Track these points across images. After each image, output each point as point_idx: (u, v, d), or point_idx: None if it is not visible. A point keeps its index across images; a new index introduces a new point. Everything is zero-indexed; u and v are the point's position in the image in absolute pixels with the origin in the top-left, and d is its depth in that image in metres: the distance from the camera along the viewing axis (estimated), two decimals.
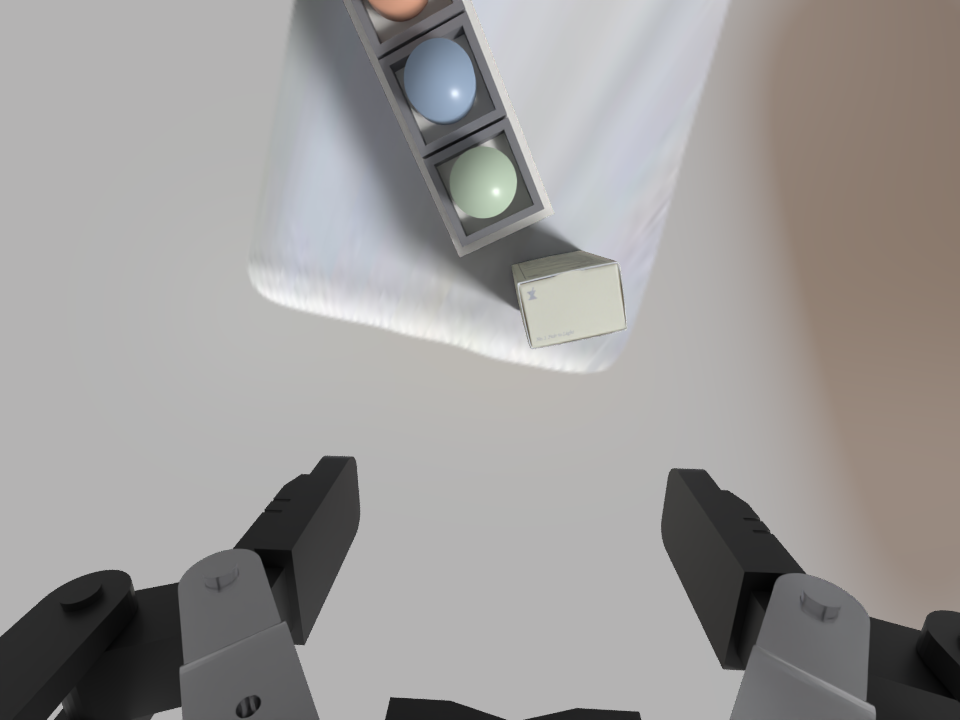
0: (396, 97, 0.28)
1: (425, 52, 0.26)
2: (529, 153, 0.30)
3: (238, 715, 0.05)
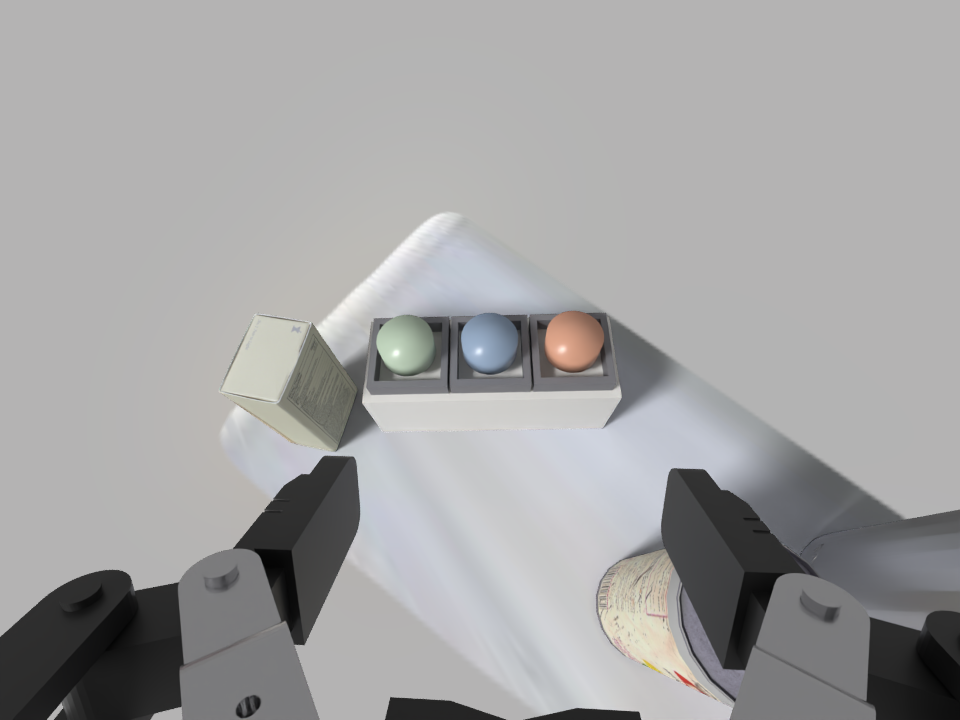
0: None
1: (510, 335, 0.33)
2: (417, 400, 0.34)
3: (238, 715, 0.05)
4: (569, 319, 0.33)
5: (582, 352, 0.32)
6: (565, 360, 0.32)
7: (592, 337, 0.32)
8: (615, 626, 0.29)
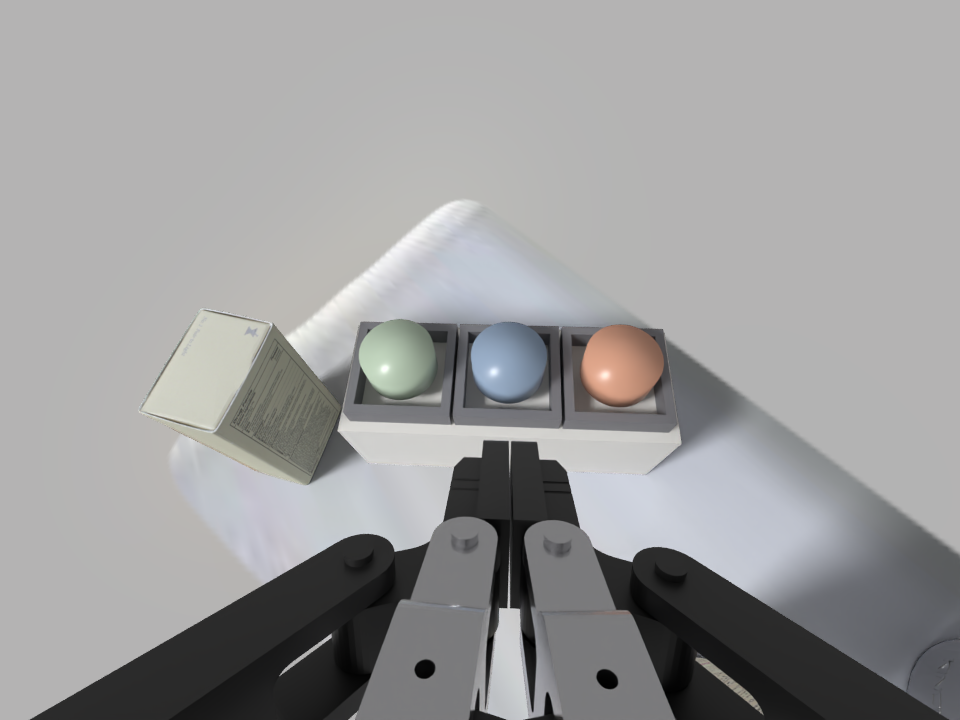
0: None
1: (537, 353, 0.24)
2: (409, 431, 0.26)
3: (417, 670, 0.06)
4: (616, 335, 0.25)
5: (634, 381, 0.23)
6: (611, 391, 0.24)
7: (648, 361, 0.24)
8: None
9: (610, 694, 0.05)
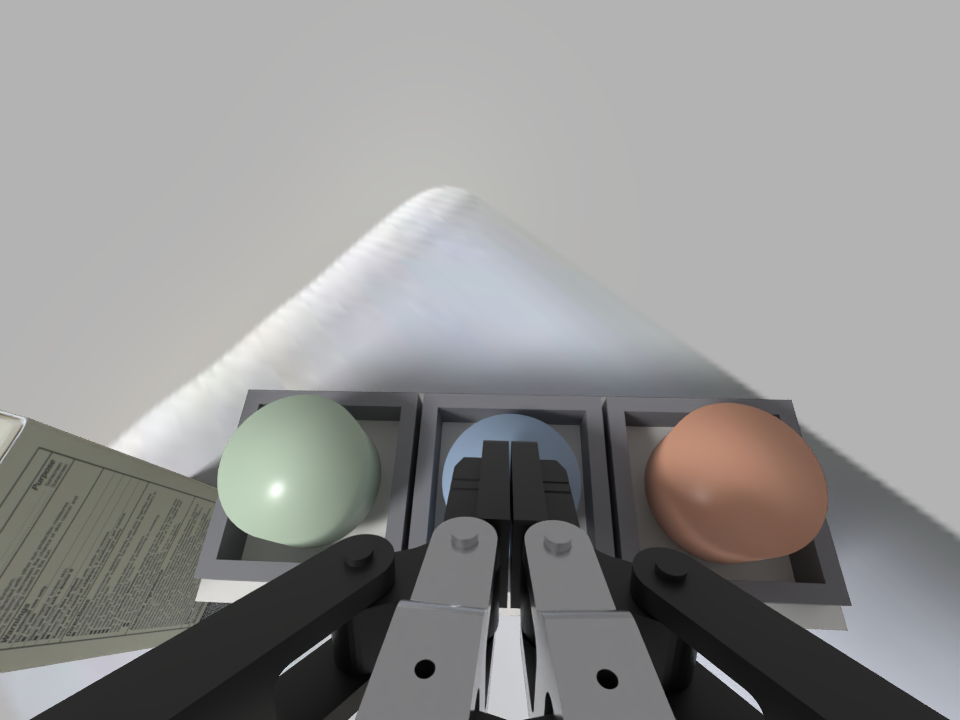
0: (533, 398, 0.15)
1: None
2: None
3: (417, 670, 0.06)
4: (723, 427, 0.13)
5: (772, 531, 0.11)
6: (724, 550, 0.11)
7: (794, 483, 0.12)
8: None
9: (610, 694, 0.05)
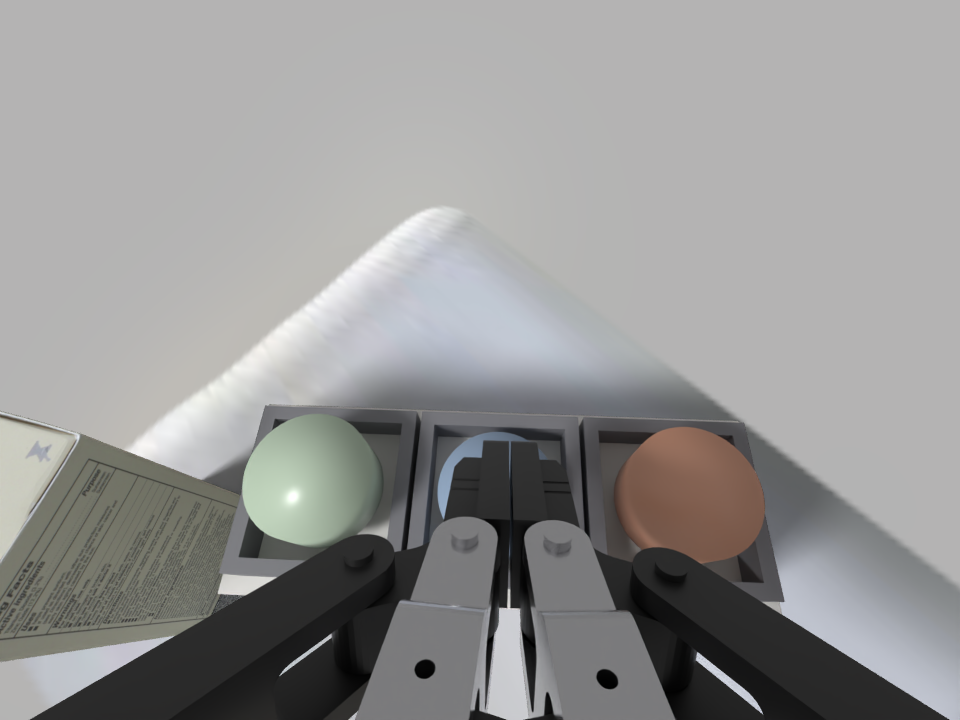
0: (519, 417, 0.17)
1: None
2: None
3: (417, 670, 0.06)
4: (680, 448, 0.15)
5: (716, 538, 0.13)
6: None
7: (737, 497, 0.14)
8: None
9: (610, 695, 0.05)
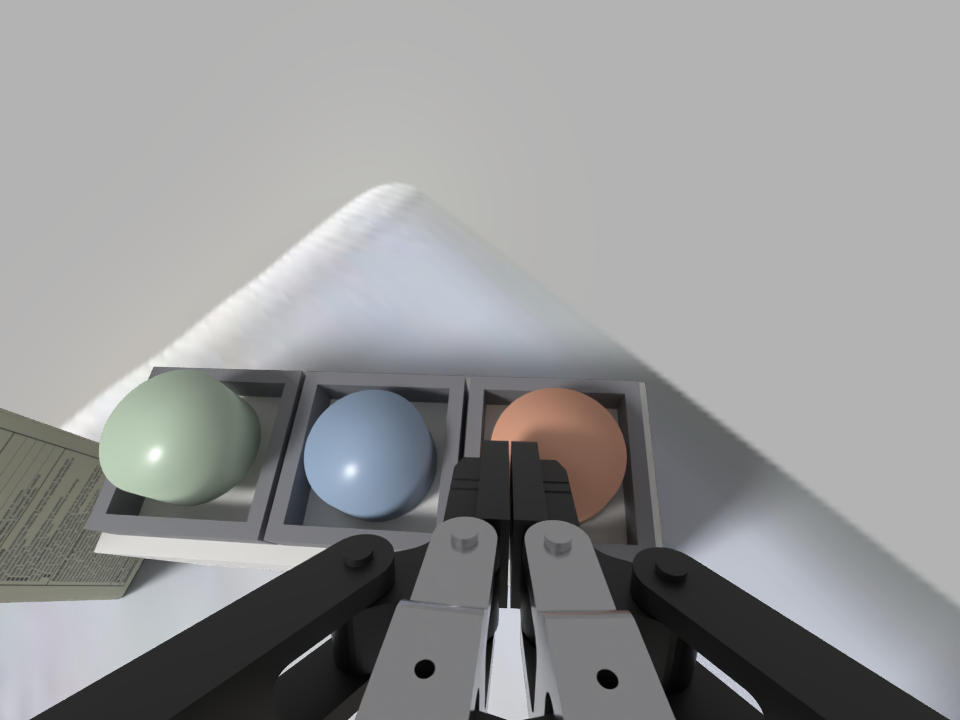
0: (404, 376, 0.17)
1: (412, 445, 0.15)
2: (208, 556, 0.16)
3: (417, 670, 0.06)
4: (547, 408, 0.14)
5: None
6: None
7: (598, 457, 0.14)
8: None
9: (610, 695, 0.05)
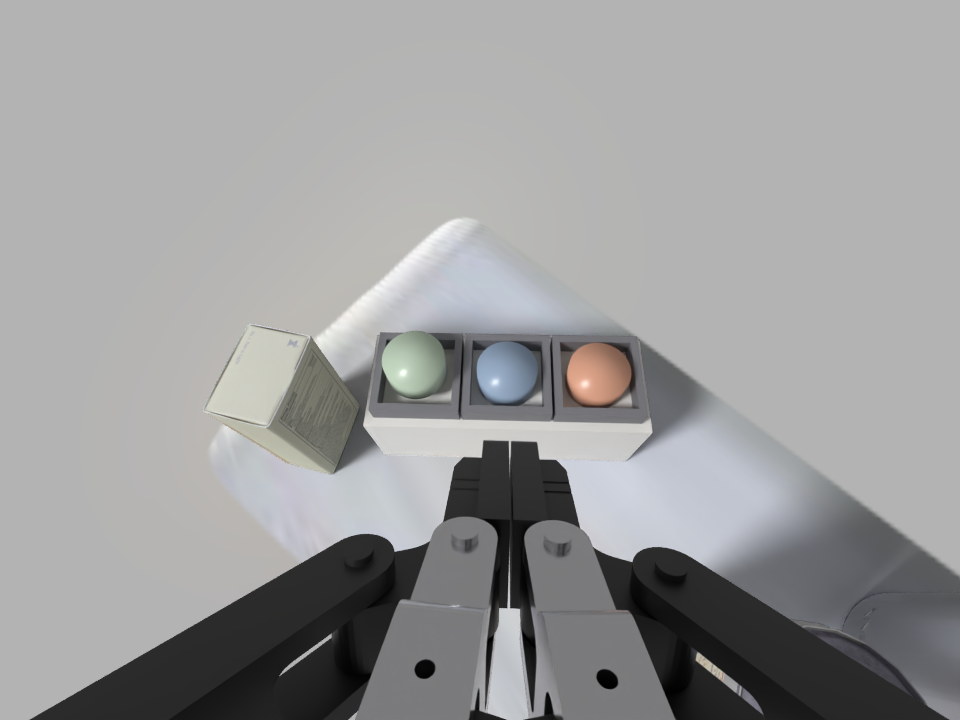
0: (517, 336, 0.32)
1: (530, 366, 0.30)
2: (424, 425, 0.31)
3: (417, 670, 0.06)
4: (594, 352, 0.31)
5: (607, 389, 0.29)
6: (589, 397, 0.29)
7: (618, 372, 0.30)
8: None
9: (610, 694, 0.05)
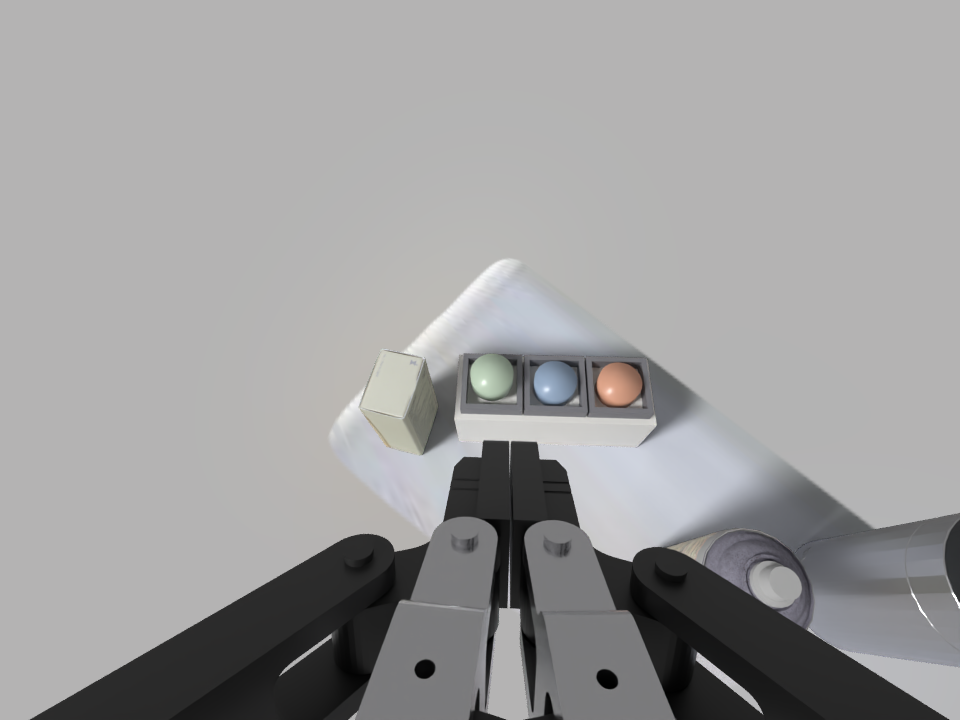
0: (561, 356, 0.45)
1: (571, 379, 0.44)
2: (497, 419, 0.44)
3: (417, 670, 0.06)
4: (616, 369, 0.44)
5: (625, 395, 0.43)
6: (613, 400, 0.43)
7: (633, 383, 0.43)
8: None
9: (610, 695, 0.05)
